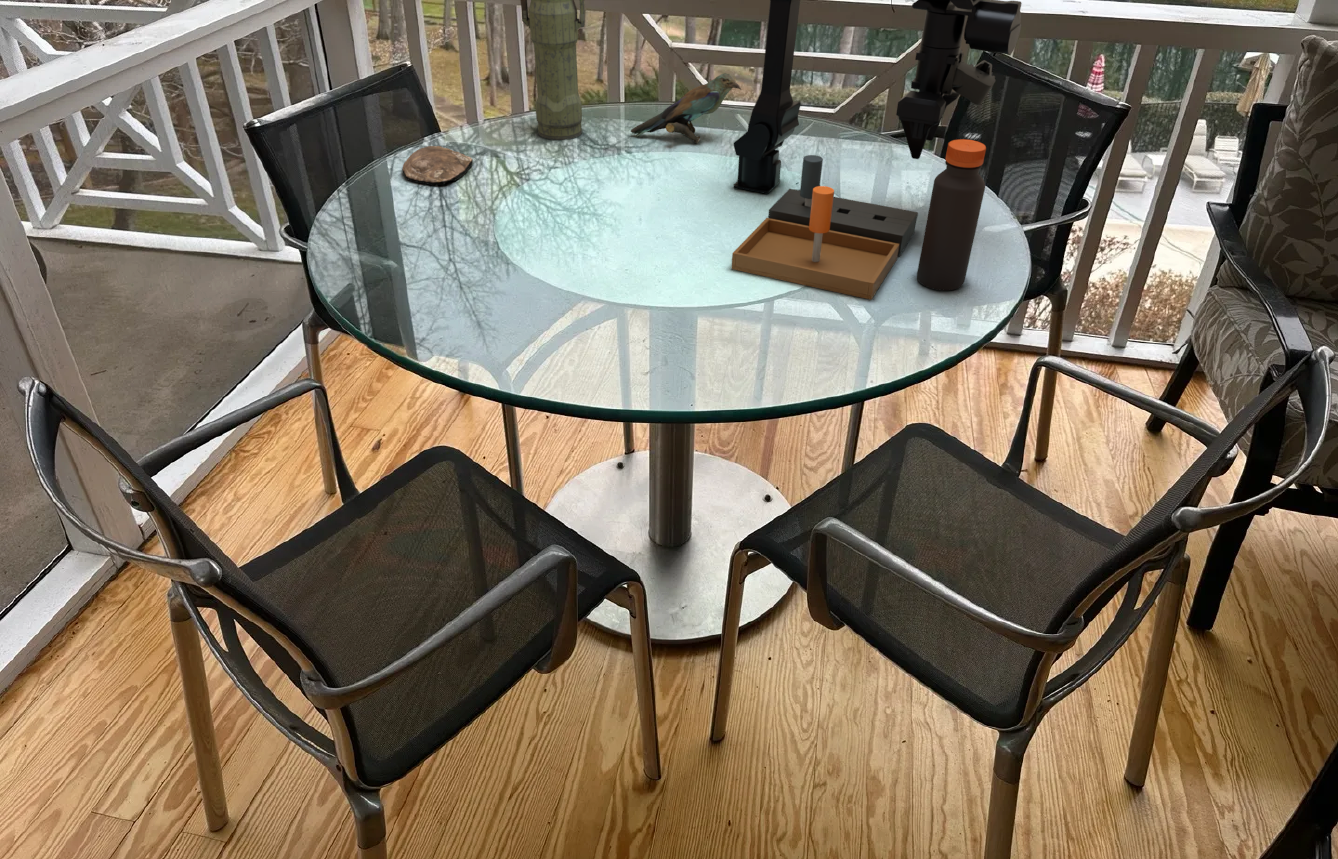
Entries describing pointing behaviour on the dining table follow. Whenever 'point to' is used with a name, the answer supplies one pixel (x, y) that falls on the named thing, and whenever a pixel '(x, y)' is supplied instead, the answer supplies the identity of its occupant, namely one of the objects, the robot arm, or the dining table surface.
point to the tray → (842, 259)
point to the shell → (436, 165)
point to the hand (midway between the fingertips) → (922, 148)
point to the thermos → (556, 65)
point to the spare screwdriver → (810, 177)
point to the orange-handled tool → (820, 217)
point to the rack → (852, 218)
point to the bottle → (952, 217)
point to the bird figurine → (690, 108)
